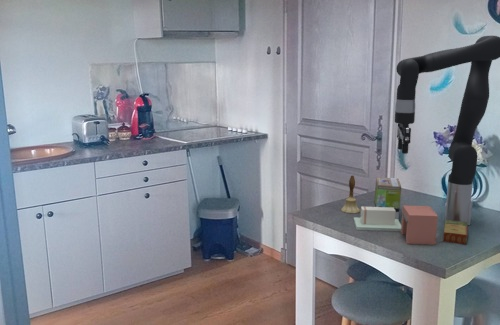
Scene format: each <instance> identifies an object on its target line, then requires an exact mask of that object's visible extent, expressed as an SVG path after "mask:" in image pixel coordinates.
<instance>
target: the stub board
mask: <svg viewBox="0 0 500 325" xmlns="http://www.w3.org/2000/svg"><path fill="white" fill-rule="evenodd" d="M353 223H354V226H355V230H356V231H372V232H373V231H378V232H401V225H402V223H401V222H400V221H399V219H395V225H373V224H361V221H360V217H353Z"/></svg>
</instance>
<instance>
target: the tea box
mask: <svg viewBox="0 0 500 325" xmlns="http://www.w3.org/2000/svg"><path fill="white" fill-rule="evenodd" d="M374 188H375V189H374V190H375V191H374V201H373V202H374V205H373V207H394V209H395V211H396V213H395V219H398V220H399V218H400V207H401V195H402V185H401V182H400V180H399V178H396V177H395V178H394V177H377V176H376V179H375V187H374Z"/></svg>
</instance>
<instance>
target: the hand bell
mask: <svg viewBox="0 0 500 325" xmlns="http://www.w3.org/2000/svg"><path fill="white" fill-rule="evenodd" d="M355 186H356V178H355V175H350V177H349V180H348V187H349V196H348V197H347V198H346V199H345V202H344V205H343V207H341V209H340V210H341V212H342V213H346V214H358V213H361V208H360V207H358V205H357V199H356V198H355V197H354V189H355Z"/></svg>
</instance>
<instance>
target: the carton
mask: <svg viewBox="0 0 500 325" xmlns="http://www.w3.org/2000/svg"><path fill="white" fill-rule="evenodd" d="M442 234H443V235H442V242H443V243H449V244H450V243H451V244H459V245H465V246H466V245H467V241H468V240H467V239H468V225H467V222H462V221H452V220H445V219H444V227H443V233H442Z"/></svg>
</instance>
